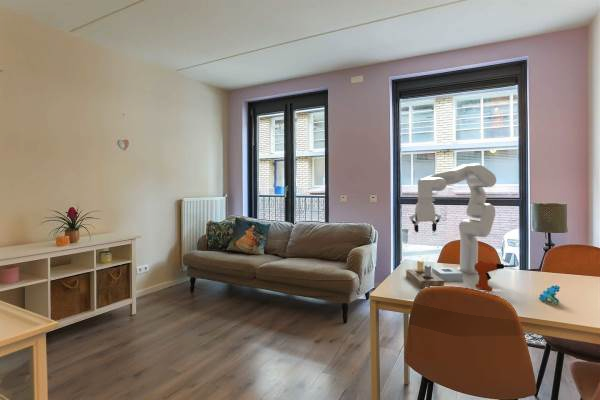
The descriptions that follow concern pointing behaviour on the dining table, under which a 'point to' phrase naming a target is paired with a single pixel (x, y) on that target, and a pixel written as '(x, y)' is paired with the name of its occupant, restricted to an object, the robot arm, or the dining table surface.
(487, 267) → the toy drill
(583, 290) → the dining table surface
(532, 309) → the dining table surface
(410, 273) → the bit rack
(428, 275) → the steel drill bit
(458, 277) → the socket block
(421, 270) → the gold drill bit
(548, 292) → the blue flower bunch
